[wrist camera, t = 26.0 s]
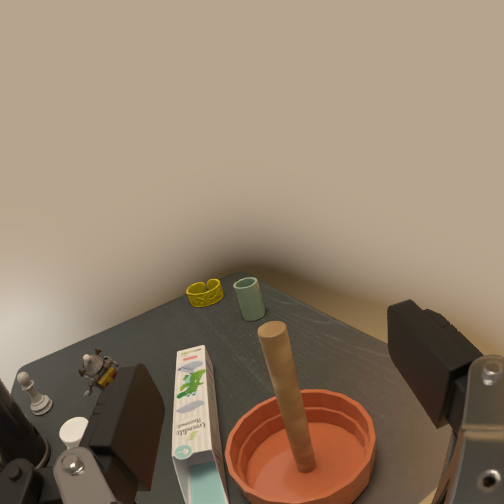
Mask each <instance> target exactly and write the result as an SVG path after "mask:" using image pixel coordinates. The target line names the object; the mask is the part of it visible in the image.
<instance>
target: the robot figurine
mask: <svg viewBox="0 0 504 504" xmlns="http://www.w3.org/2000/svg"><path fill="white" fill-rule="evenodd" d="M95 351H96V355H84V357H83V359H84V361H85V362H84V363H83V368H84V369H85V370H80V369H79V373H80V375H81V376H82V377H83V375H84V373H85V372H86V373H85V375H86V378H87V379H89V380H90V382H89V383H88V386H89V388H90V390H89V391H87V392H86V393H85V394H84V396H85V397H86V396H88V395H90V394H91V393H92V387H93V385H94V386H95V387H96V388H98V389H99V390H100V391H103V390H104V389H105V388H106V387H107V386H108V385H109V383H110V382H114V380H115V377H116V375H117V373H118V370H116V369H115V368H114V367H112V366H111V364H115V365H116V366H117V367H118V366H119V364H118V363H116V362H115V361H113V360H112V359H111V358H109V357H107V356H104V357H103V359H102V357H100V356H99V355H98V354H99V353H100V352H101V350H98V349H95ZM106 360H107V361H106Z"/></svg>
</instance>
